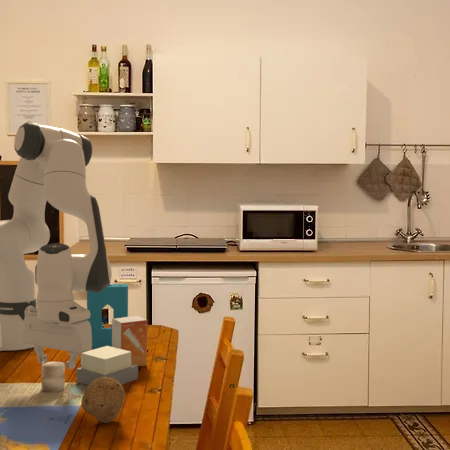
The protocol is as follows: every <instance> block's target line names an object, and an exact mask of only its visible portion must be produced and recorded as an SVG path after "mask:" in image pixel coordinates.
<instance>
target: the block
mask: <svg viewBox="0 0 450 450" xmlns="http://www.w3.org/2000/svg"><path fill="white" fill-rule="evenodd" d="M107 305H108V306H109V307H110V308H111V309H112V311H113V312H112V314H113V315H112V316H113V317H112V319H116V318H123V317H129V284H127V283H110V284H109V285H108V286H107V287H106V288H105V289H104V290H102V291H101V292H99V293H97V292H86V309H88V310H89V311H90V318H89V319H86V320H88V321H89V322H90V325H91V331H92V346H91V348H90V349H91V350H94V349H97V348H101V347H105V346H110V347H112V324H110V327H105V325H104V324H102V322H103V321H102V317H103V314H102V312H103V309H104V308H105V307H106V306H107Z"/></svg>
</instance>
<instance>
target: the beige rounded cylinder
mask: <svg viewBox="0 0 450 450" xmlns="http://www.w3.org/2000/svg"><path fill="white" fill-rule="evenodd" d="M65 369H66V363H65V362H62V361H47V362H46V363H44V364H42V363H41V391H42V392H44V393H57V392H61V391H63V390H65V385H66V383H65V380H66V379H65V373H66V371H65Z"/></svg>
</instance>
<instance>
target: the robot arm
mask: <svg viewBox="0 0 450 450" xmlns="http://www.w3.org/2000/svg"><path fill="white" fill-rule="evenodd" d="M18 127H19V128H18V129H17V131H16V134H15V135H14V144H13V145H14V146H13V147H14V151H15V152H16V155H18V156H19V161H18V162H17V166H16V169H15V172H14V175H13V179H12V182H11V185H10V189H9V192H8V194H7V197H8V198H7V199H8V201H9V202H10V204H11V205H12V206H13V214H12V218H11V219H5V220H4V219H3V220H0V352H2V351H21V350H27V349H32V348H33V350H34V352H35V354H36V356H37V363H38V364H41V365H42V364H44V363H47V362H48V355H47V354H45V351H44V348H49V349H54V350H59V351H60V350H61V351H64V352H68V356H70V357H69V360H67V361H66V362H65V369H69V370H74V369H75V368H76V361H77V359H78V358H79V356H80V354H81V353H84V352H87V351H90V350H91V349H92V348H91V346H92V331H91V325H90V322H89V321H88V320H87V319H89V318H90V311H89V310H88V309H87V307H86V308H85V307H84V306H82V305H81V304H79V303H78V302H77V301H75V298H74V297H75V295H74V292H86V293H87V292H97V293H99V292H101V291H102V290H104V289H105V288H106V287H107V286H108V285H109V284H111V281H112V272H113V271H112V266H111V263H110V260H109V257H108V253H107V247H106V239H105V236H104V228H103V223H102V217H101V210H100V207H99V204H98V200H97V199H96V196H94V195H92V194H91V193H90V192H89V190H88V188H87V184H86V180H87V174H86V173H87V172H86V167H87V166H88V165H89V163H90V161H91V159H92V156H93V155H92V154H93V145H92V142H91V140H90V139H89V138H88V137H86V136H85V135H83V134H80V133H75V132H73V131H70V130H67V129H64V128H61V127H54V126H49V125H43V124H39V123H36V122H24V123H23V124H21V125H20V126H18ZM47 202H48V204H50V205H51V207H53V208H54V209H56V210H58V211H60V212H63V213H65V214H68V215H70V216H72V217H76V218H78V219H79V220H81V221H83V222H84V223H85V225H86V229H87V233H88V240H89V246H90V248H89V249H90V251H89V252H88V253H79V254H78V253H77V254H76V253H75V254H73V253H72V250H71V247H70V246H69V245H67V244H65V243H58V242H57V243H56V242H55V243H49V241H50V237H51V233H50V232H51V231H50V229H49V227H48V225H47V223H46V220H45V219H46V218H45V217H46V216H45V212H46V205H47ZM48 243H49V244H48ZM37 251H38V253H37V260H36V264H35V268H34V272H33V271H32V270H31V269H30V268H28V266H27V264H26V261H25V256H24V255H25V254H31V253H33V254H34V253H35V252H37ZM35 285H37V290H38V291H37V295H36V293H35V292H36V289H35V288H36V287H35ZM35 295H36V296H35ZM35 297H36V298H35Z"/></svg>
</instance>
